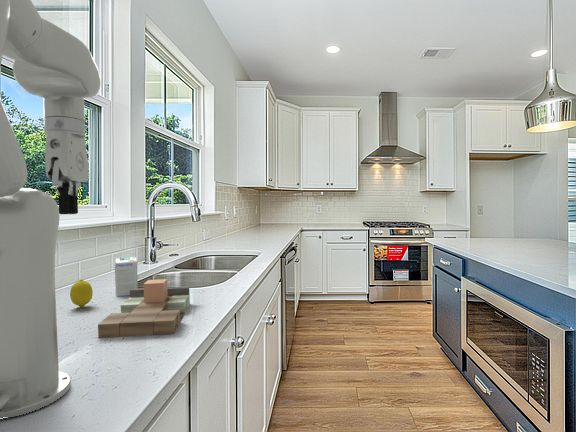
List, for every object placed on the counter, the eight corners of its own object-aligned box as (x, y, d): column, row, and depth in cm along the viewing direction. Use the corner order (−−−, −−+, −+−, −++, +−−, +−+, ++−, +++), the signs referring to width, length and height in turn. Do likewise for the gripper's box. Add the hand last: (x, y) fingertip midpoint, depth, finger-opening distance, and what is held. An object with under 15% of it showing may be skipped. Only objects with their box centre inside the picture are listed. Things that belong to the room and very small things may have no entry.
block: (163, 301, 97) (163, 283, 97) (144, 302, 96) (143, 283, 96) (167, 296, 102) (167, 279, 102) (148, 297, 101) (148, 279, 101)
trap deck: (174, 333, 81) (173, 311, 81) (98, 338, 79) (97, 315, 79) (189, 304, 105) (189, 286, 105) (131, 306, 103) (131, 289, 103)
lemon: (83, 310, 100) (82, 281, 100) (65, 309, 101) (64, 281, 101) (97, 305, 106) (96, 277, 105) (80, 304, 107) (79, 277, 107)
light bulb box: (115, 289, 125) (114, 258, 124) (137, 287, 128) (136, 256, 127) (115, 296, 115) (114, 262, 115) (138, 294, 118) (137, 261, 117)
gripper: (67, 121, 72) (70, 214, 73) (97, 135, 87) (100, 212, 88) (26, 121, 71) (30, 215, 72) (63, 135, 86) (66, 213, 87)
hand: (68, 213), depth 80 cm, fingers closed
